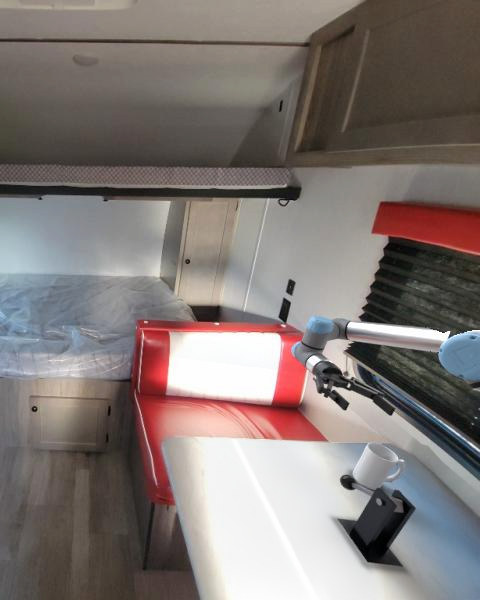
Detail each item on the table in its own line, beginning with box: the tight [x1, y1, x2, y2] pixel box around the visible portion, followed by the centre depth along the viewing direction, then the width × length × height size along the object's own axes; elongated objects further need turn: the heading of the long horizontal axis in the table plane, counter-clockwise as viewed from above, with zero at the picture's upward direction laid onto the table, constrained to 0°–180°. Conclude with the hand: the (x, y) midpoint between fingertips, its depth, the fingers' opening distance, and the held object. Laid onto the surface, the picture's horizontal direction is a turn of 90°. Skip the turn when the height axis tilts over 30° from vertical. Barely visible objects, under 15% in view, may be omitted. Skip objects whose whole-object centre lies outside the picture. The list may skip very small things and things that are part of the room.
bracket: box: [337, 488, 417, 568], centre depth 76 cm, size 10×8×16 cm
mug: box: [352, 442, 405, 491], centre depth 93 cm, size 10×7×12 cm, turn 73°
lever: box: [339, 474, 403, 513], centre depth 80 cm, size 15×4×4 cm, turn 178°
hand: (369, 409), depth 99 cm, fingers open, 13 cm apart
